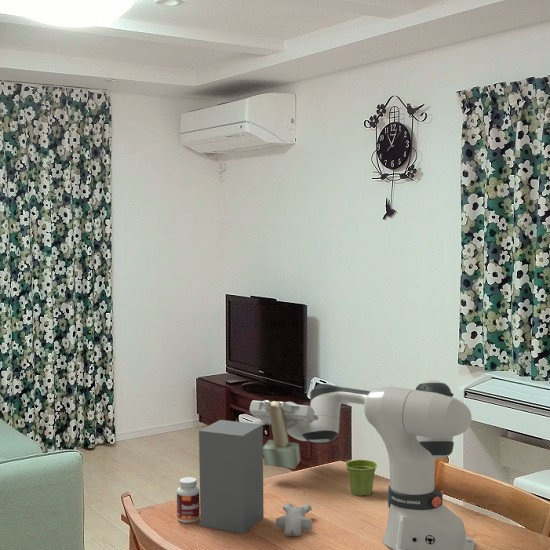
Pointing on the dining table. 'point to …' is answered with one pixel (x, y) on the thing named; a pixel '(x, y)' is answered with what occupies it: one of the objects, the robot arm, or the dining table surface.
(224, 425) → the stand
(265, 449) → the mallet
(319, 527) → the dining table surface
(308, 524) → the grey soft figure
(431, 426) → the robot arm
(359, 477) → the plant pot
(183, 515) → the pill bottle
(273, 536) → the dining table surface
